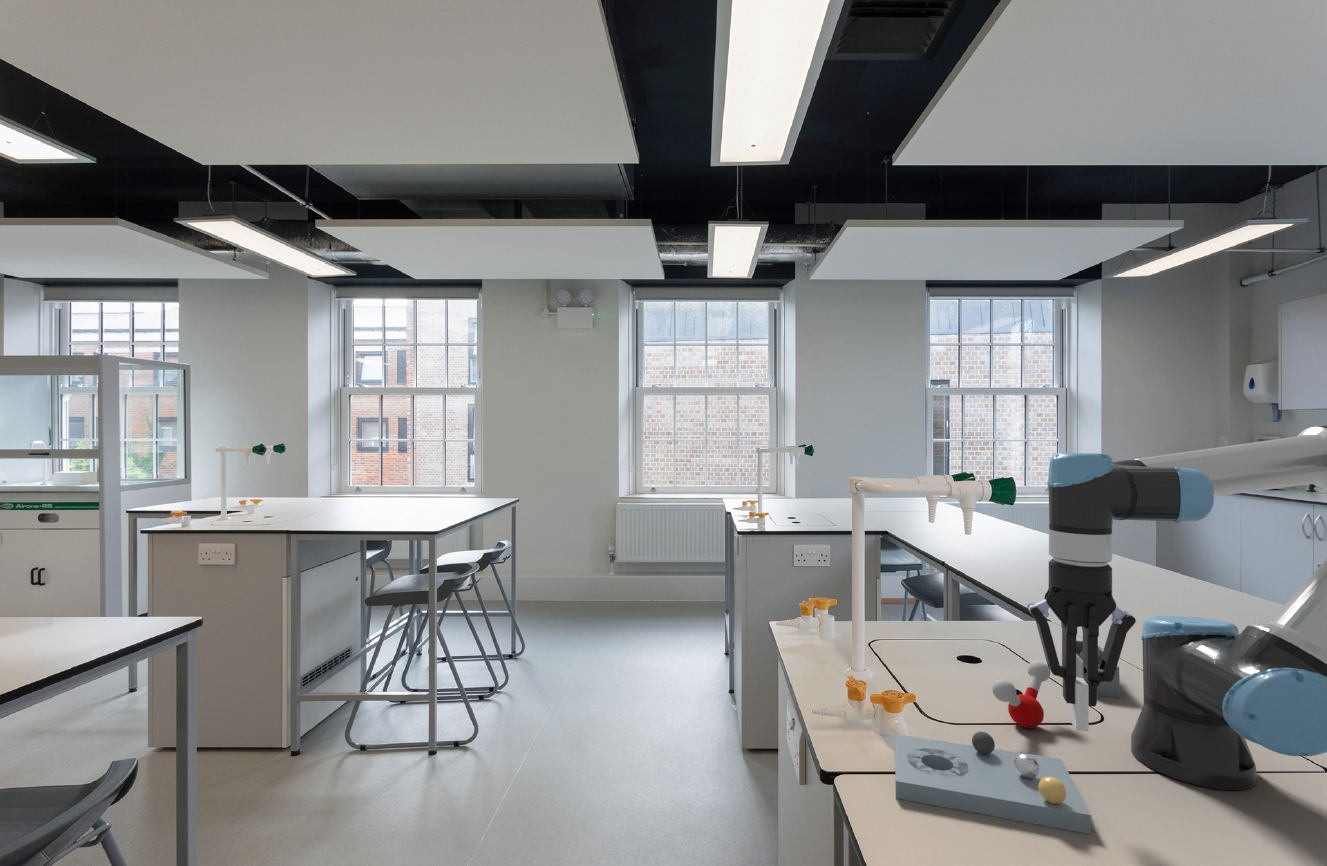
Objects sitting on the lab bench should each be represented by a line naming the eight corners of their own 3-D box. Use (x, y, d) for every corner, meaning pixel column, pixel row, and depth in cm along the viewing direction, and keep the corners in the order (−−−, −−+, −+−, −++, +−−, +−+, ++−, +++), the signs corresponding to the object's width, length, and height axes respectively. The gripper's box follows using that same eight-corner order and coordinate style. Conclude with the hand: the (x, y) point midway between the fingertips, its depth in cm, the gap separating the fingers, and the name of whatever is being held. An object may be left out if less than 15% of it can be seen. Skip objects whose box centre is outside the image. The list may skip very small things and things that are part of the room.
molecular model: (1022, 706, 119) (1022, 654, 119) (1057, 716, 115) (1057, 662, 115) (989, 736, 107) (988, 679, 107) (1027, 749, 103) (1026, 689, 103)
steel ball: (1037, 773, 91) (1036, 751, 91) (1041, 784, 88) (1041, 762, 88) (1012, 769, 92) (1012, 747, 92) (1016, 780, 89) (1016, 758, 89)
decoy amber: (1063, 797, 85) (1062, 774, 85) (1069, 810, 82) (1068, 786, 82) (1036, 793, 86) (1036, 770, 86) (1041, 806, 83) (1041, 782, 83)
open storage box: (1094, 668, 138) (1094, 642, 138) (1119, 697, 123) (1119, 667, 123) (1062, 665, 140) (1062, 639, 140) (1083, 693, 125) (1082, 663, 125)
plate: (1061, 775, 95) (1061, 758, 95) (1091, 834, 81) (1090, 815, 81) (895, 748, 103) (895, 733, 103) (895, 798, 89) (895, 780, 89)
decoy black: (993, 749, 98) (993, 729, 98) (996, 759, 95) (996, 738, 95) (970, 746, 99) (970, 726, 99) (973, 756, 96) (973, 735, 96)
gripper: (1124, 559, 89) (1124, 722, 89) (1022, 553, 94) (1022, 708, 93) (1145, 569, 82) (1145, 747, 82) (1032, 562, 87) (1032, 730, 86)
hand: (1079, 726), depth 88 cm, fingers closed
